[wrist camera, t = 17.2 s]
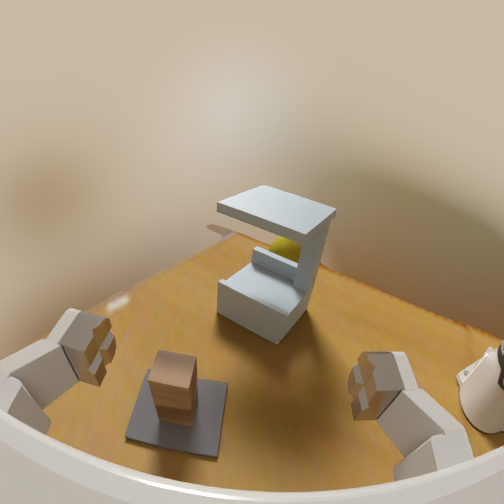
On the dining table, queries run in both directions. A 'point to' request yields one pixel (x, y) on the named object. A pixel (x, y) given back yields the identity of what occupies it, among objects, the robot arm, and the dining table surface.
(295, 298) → the grey cantilever stand
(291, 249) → the lemon
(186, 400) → the walnut block
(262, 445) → the dining table surface
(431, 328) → the dining table surface
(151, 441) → the felt mat
